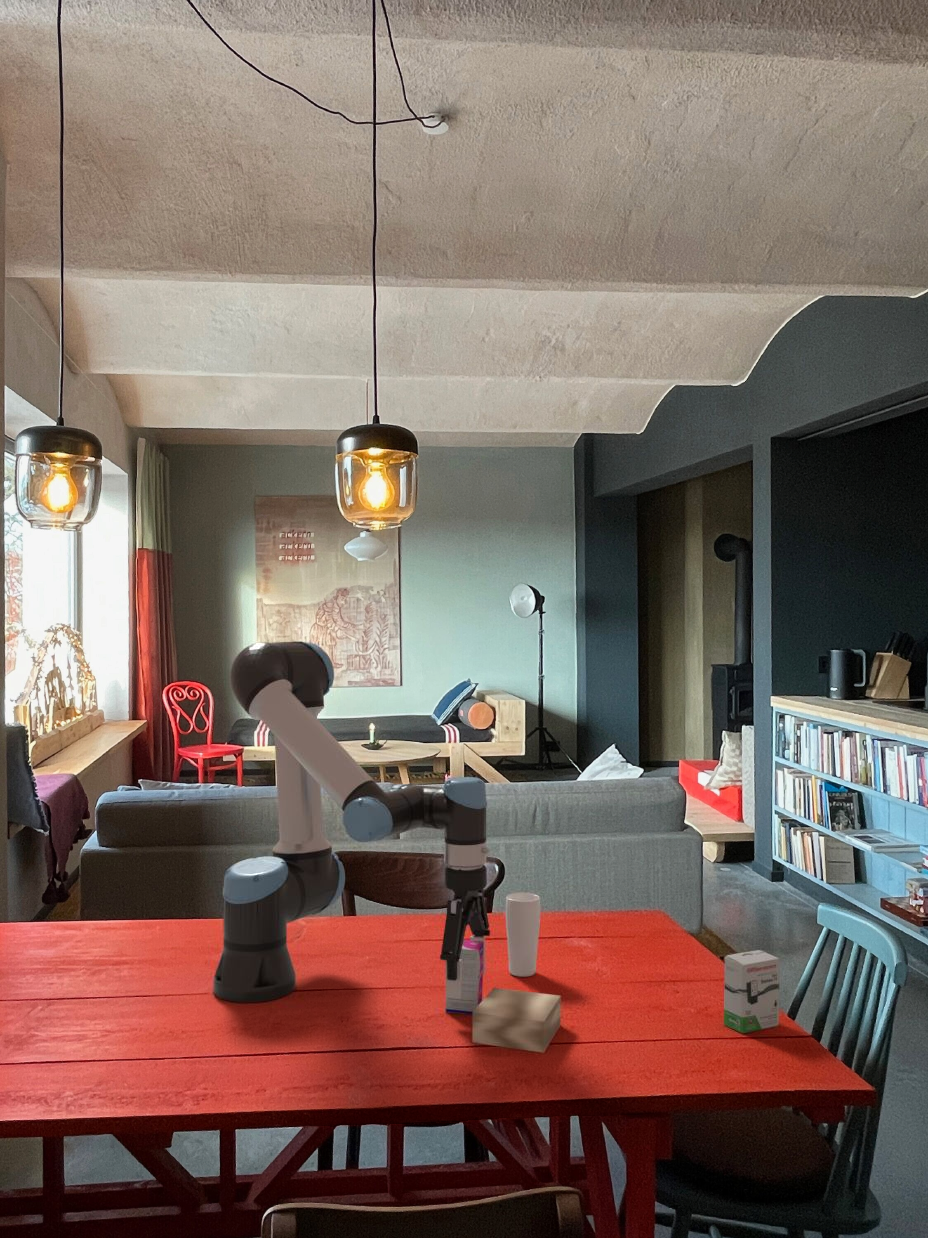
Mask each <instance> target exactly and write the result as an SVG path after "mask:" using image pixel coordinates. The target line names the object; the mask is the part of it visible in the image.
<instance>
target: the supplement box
mask: <svg viewBox="0 0 928 1238" xmlns="http://www.w3.org/2000/svg"><path fill="white" fill-rule="evenodd" d="M450 953H452V952H450ZM483 953H484V942H483V941H473V940H470V939H464V940H463V945H462V950H461V954H460V959H461V960H462V998H461V999H457V998H448V997H446V996H445V1013H448V1014H449V1013H451V1014H460V1015H461V1014H463V1015H472V1016H473V1011H474V1010H475V1009H476V1008H477V1006H478V1005H479V1004H480V1003H481V1002H482V1001H483V989H484V988H483V987H484V985H483V983H484V982H483V981H484V974H483Z"/></svg>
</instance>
